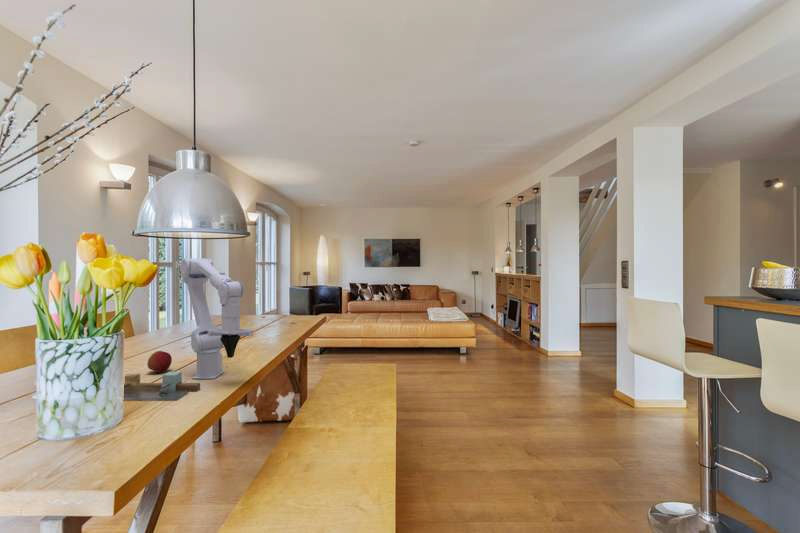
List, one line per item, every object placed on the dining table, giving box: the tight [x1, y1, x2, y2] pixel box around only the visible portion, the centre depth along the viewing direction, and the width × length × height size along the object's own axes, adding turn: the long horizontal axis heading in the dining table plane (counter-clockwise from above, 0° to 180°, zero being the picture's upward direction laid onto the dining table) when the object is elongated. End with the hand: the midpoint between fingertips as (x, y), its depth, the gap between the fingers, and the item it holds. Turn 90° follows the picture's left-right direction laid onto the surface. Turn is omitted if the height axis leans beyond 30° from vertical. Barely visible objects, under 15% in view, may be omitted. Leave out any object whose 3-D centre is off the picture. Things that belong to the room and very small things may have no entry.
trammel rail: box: [123, 373, 201, 393], centre depth 128 cm, size 8×24×5 cm, turn 92°
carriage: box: [160, 371, 183, 393], centre depth 129 cm, size 9×4×5 cm, turn 2°
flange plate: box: [123, 390, 189, 402], centre depth 125 cm, size 7×22×1 cm, turn 92°
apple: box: [147, 350, 173, 374], centre depth 151 cm, size 8×8×8 cm
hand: (230, 357), depth 137 cm, fingers closed
